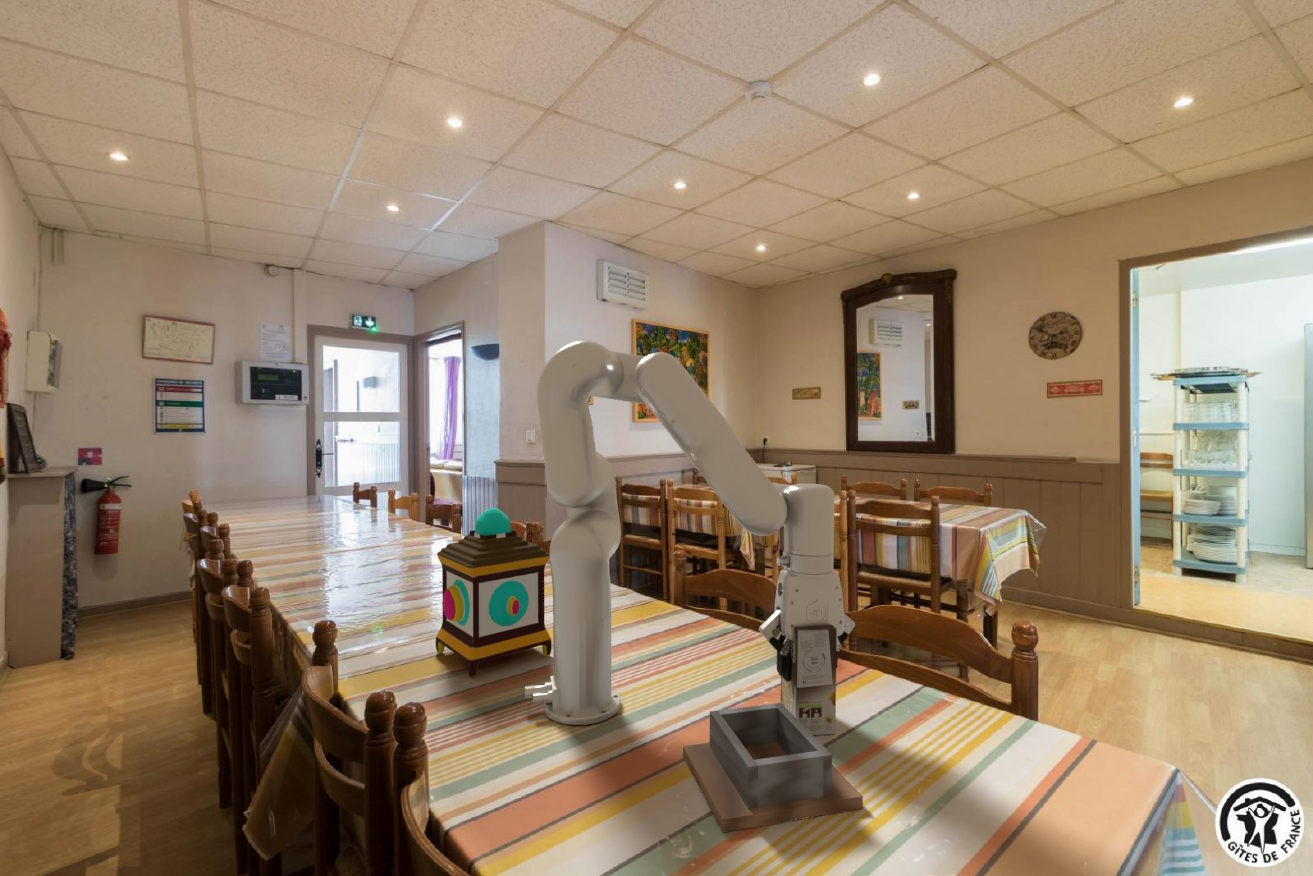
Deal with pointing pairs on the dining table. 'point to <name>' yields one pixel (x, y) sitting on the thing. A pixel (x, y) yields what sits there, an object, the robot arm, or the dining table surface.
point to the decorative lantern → (492, 593)
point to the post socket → (766, 770)
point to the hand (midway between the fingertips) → (807, 674)
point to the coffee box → (812, 679)
